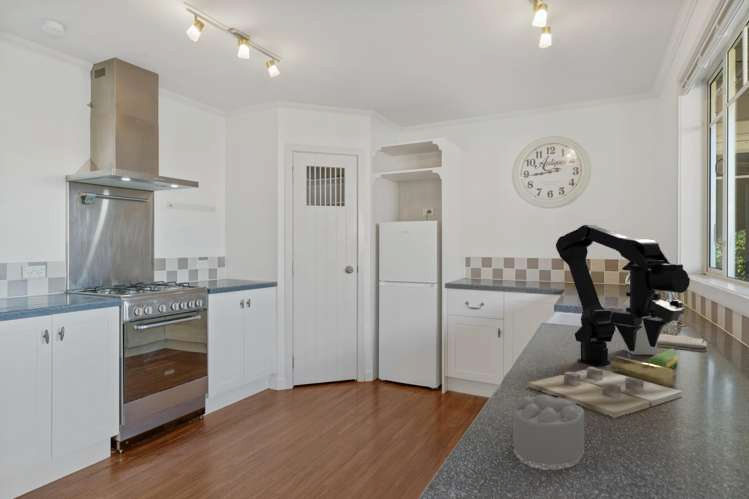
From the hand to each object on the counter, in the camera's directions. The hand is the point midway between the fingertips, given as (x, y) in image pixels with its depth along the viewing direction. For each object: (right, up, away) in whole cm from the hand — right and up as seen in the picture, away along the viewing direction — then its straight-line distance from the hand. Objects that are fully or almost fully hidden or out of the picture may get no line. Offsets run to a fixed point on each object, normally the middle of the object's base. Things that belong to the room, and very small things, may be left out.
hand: (642, 348), depth 113 cm
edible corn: (+12, -8, +9) cm, 17 cm away
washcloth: (+33, -8, +36) cm, 49 cm away
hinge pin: (0, -8, 0) cm, 8 cm away
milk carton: (+15, -7, +26) cm, 32 cm away
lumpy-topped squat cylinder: (-40, -9, -39) cm, 57 cm away
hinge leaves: (-15, -8, -9) cm, 20 cm away
